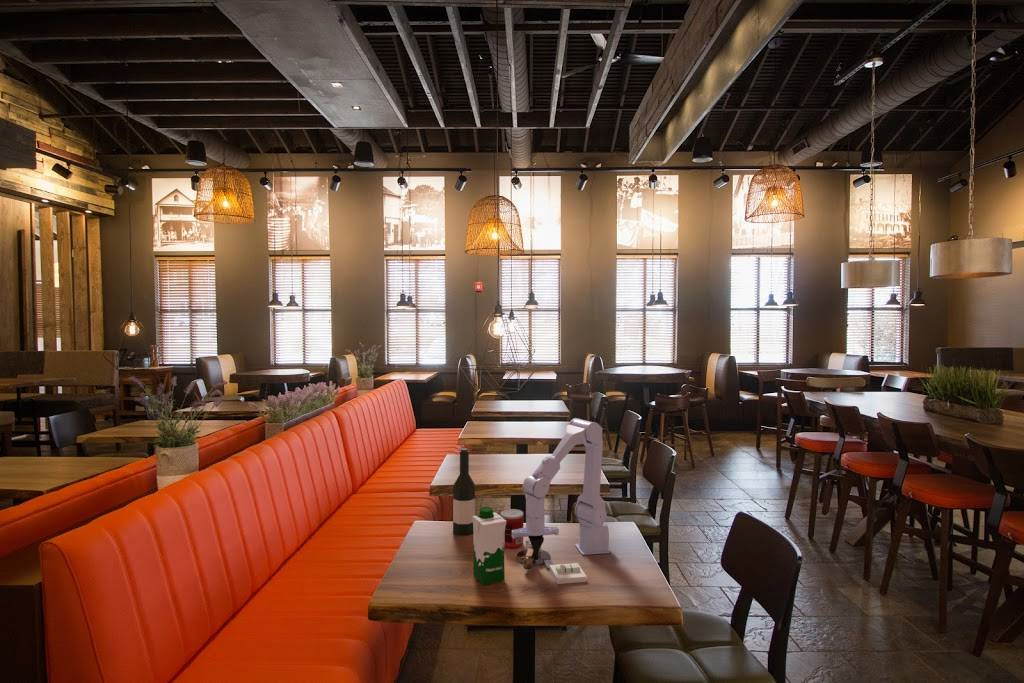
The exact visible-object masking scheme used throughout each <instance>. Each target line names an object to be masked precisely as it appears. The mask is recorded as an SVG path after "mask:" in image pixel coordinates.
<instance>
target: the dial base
mask: <svg viewBox="0 0 1024 683" xmlns="http://www.w3.org/2000/svg"><path fill="white" fill-rule="evenodd" d="M524 556H526V548H525V549H522V550H520V551H518V552H517V553H516V560H517V562H519V563H520V564H523V562H524ZM551 558H552V557H551V554H550V553H549V552H548V551H547V550H544V549H541V557H540V558H538V560H533V563H532V567H533V566H534V567H535V566H542V565H544V566H545V569H546V570H547V571H550V570H549V565H554V563H553V561H552V560H551Z"/></svg>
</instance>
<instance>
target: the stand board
mask: <svg viewBox="0 0 1024 683" xmlns="http://www.w3.org/2000/svg"><path fill="white" fill-rule="evenodd" d="M548 571H549V572H550V573H551V575H552V576H551V577H553V579H554V582H555V583H556V585H562V584H563V585H564V584H573V583H574V584H576V583H585V582H587V581H588V576H587V575H586V573H585V572H584V570H583V569H582V567H581V566H580V564H579V562H574V563H560V564H553V565H549V570H548ZM587 583H588V582H587Z"/></svg>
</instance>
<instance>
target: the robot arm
mask: <svg viewBox="0 0 1024 683" xmlns="http://www.w3.org/2000/svg"><path fill="white" fill-rule="evenodd" d="M576 445H584V447H585V458H584V473H583V474H584V476H583V487H582V488H583V489H582V493H581V494H580V495H579V496H577V502H576V504H575V507H574V515H575V517H577V521H578V522H579V527H578V528H579V531H578V532H579V533H578V536H579V538H578V543H575V544H574V545H575V547H576V548H577V550H578V551H579V552H580V554H581V555H582V556H585V555H600V554H601V555H602V554H609V553H610V546H609V545H610V544H609V543H610V532H609V526H608V524H607V522H606V520H607V510H606V503H605V501H604V499H603V498H602V496H601V495H600V493H601V478H602V477H601V476H602V464H603V463H602V461H603V451H604V450H603V447H604V439H603V427H602V426H601V425H600V424H599V423H598V422H596V421H589V420H585V419H581V418H578V417H575V418H572V419H571V420H570V421H569V423H568V424H567V426H566V427H565V433H564V436H563V437H562V438H561V440H560V441H559V443H558V445H557V446H556V448H555V449H554V450H553V452H552V454H551V455H549V456H545V457H544V458H542V460H541V463H540V464H539V465H538V467H537V468H536V470H534V472H533V473H532V475H528V476H527V477H526V478H525V479H524V480H523V484H522V485H521V488H522V492H524V497H525V526H524V527H523V528H521V529H516V530H512V538H513V539H514V538H516V537H523V538H527V537H528V539H529V540H530V542H531V545H532V548H533V558H534V560H538V552H539V549H540V547H541V548H542V545H543V543H544V540H545V538H544V536H551V535H555V536H559V535H560V532H559V531H560V529H559V527H558V526H547V525H546V526H545V523H546V522H545V520H546V518H545V516H546V515H545V513H546V512H545V505H546V504H545V502H546V500H545V497H546V495H548V493H549V490H550V485H551V482H552V481H553V479H554V478H555V476H556V475H557V473H558V472H559V471H560V469H561V462H562V461H563V460H564V458H565V457H566V456H568V454H569V452H571V451H572V449H573V448H574V447H575V446H576Z"/></svg>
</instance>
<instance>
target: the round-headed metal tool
mask: <svg viewBox="0 0 1024 683" xmlns="http://www.w3.org/2000/svg"><path fill="white" fill-rule="evenodd" d="M525 549H526V556H524V562H523V569H524V570H528V571H529V570H531V569H532V568H533V566H532V563H533V560H534V558H533V548H532V545H531V542H530V540H529V538H528V539H527V540H526V541H525ZM541 550H542V546H541V547H540V549H539V552H538V558H540V557H541Z"/></svg>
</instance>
